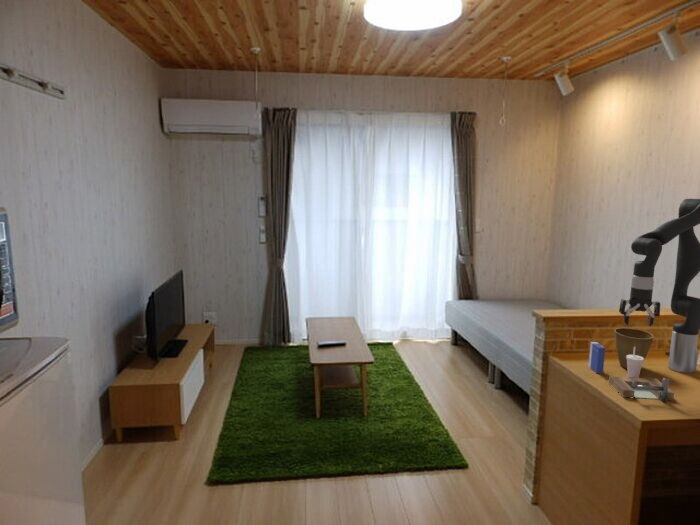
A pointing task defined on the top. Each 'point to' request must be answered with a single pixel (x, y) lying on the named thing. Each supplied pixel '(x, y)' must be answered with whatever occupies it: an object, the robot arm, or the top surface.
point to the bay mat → (644, 394)
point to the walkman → (596, 357)
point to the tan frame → (625, 384)
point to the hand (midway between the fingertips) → (637, 325)
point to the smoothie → (634, 365)
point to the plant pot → (631, 343)
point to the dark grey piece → (655, 388)
